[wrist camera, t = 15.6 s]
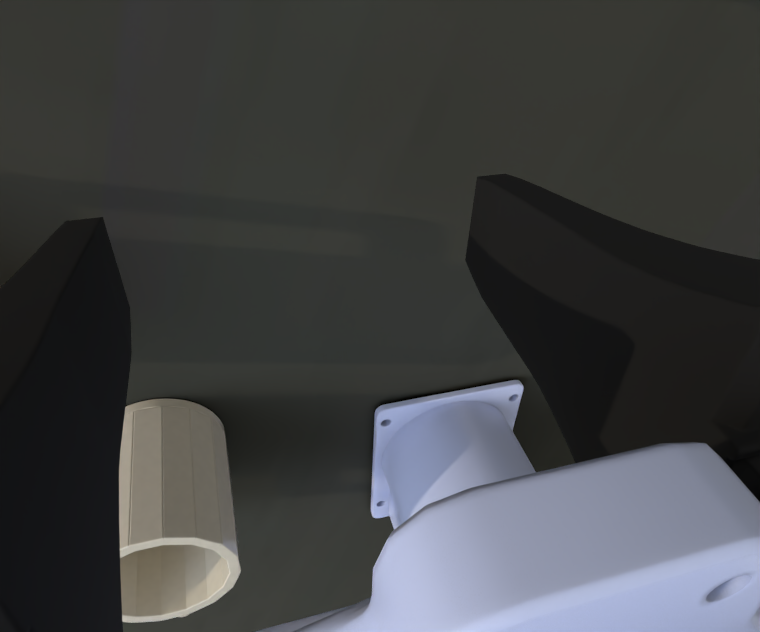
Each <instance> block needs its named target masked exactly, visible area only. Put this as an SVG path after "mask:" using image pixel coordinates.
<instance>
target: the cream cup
mask: <svg viewBox="0 0 760 632" xmlns="http://www.w3.org/2000/svg"><path fill="white" fill-rule="evenodd" d="M119 534H120V575H121V600H122V622H129V623H131V622H132V623H137V622H152V621H161V620H162V621H163V620H167V619H171V618H175V617H185V616H187V615H189V614H190V613H193V612H195V611H197V610H199V609H201V608H203V607H205V606H208V605H210V604H212V603H214V602H215V601H217V600H218V599H219V598H221V597H222V596H223V595H224V594H225V593H227V592H228V591H229V590H230V589H232V587H233V586H234V584H235V582H236V580H237V579H238V577H239V575H240V573H241V564H240V555H239V546H238V537H237V528H236V519H235V510H234V501H233V492H232V482H231V473H230V464H229V455H228V446H227V441H226V434H225V429H224V426H223V424H222V422H221V420H220V419H219V418H218V417H217V416H216V415H215V414H214V413H213V412H212V411H210V410H209V409H207V408H206V407H204V406H202V405H199V404H197V403H194V402H190V401H186V400H180V399H169V398H164V399H152V400H146V401H141V402H137V403H134V404H131V405H128V406H126V407H125V415H124V423H123V432H122V441H121V449H120V464H119Z"/></svg>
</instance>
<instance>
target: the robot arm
mask: <svg viewBox="0 0 760 632" xmlns="http://www.w3.org/2000/svg"><path fill="white" fill-rule="evenodd" d="M466 263H467V265H468V267H469V270H470V272H471V275H472V277H473V279H474V282H475V284H476V286H477V288H478V290H479V292H480V294H481V296H482V298H483V300H484V301H485V303H486V305H487V306H488V308H489V309H490V311H491V312H492V314H493V316H494V317H495V319H496V320H497V322H498V323H499V325H500V326H501V328H502V329H503V331H504V333H505V334H506V336H507V337H508V339H509V340H510V342H511V343H512V345H513V346H514V348H515V349H516V351H517V352H518V354H519V355H520V357H521V358H522V360H523V361H524V363H525V364H526V366H527V367H528V369H529V370H530V372H531V374H532V375H533V377H534V379H535V380H536V382H537V384H538V386H539V387H540V389H541V391H542V393H543V395H544V397H545V399H546V401H547V403H548V405H549V407H550V409H551V411H552V413H553V415H554V417H555V419H556V421H557V423H558V425H559V427H560V429H561V432H562V434H563V436H564V438H565V440H566V442H567V445H568V447H569V449H570V451H571V453H572V456H573V458H574V460H575V462H576V463H575V464H570V465H566V466H562V467H558V468H553V469H549V470H545V471H540V472H536V471H535V470H534V468H533V466H532V464H531V463H530V461H529V459H528V457H527V456H526V454H525V452H524V450H523V449H522V447H521V445H520V443H519V442H518V440H517V438H516V436H515V435H514V433H513V427H514V423H515V419H516V416H517V412H518V408H519V404H520V401H521V397H522V393H523V389H524V386H523V385H522V383H521V382H520V381H519V380H511V381H505V382H500V383H495V384H489V385H484V386H479V387H473V388H468V389H463V390H458V391H452V392H447V393H442V394H436V395H431V396H426V397H421V398H415V399H410V400H405V401H399V402H394V403H389V404H384V405H381V406H379V407H378V408H377V409H376V410H375V416H374V440H373V464H372V488H371V513H372V516H373V517H374V518H382V517H386V516H390V519H391V522H392V525H393V528H394V531H392V533H391V534H390V536H389V538H388V539H387V541H386V543H385V545H384V547H383V549H382V551H381V553H380V555H379V557H378V559H377V561H376V564H375V566H374V568H373V580H372V597H370V598H367V599H365V600H363V601H360V602H358V603H356V604H354V605H351V606H347V607H343V608H339V609H336V610H332V611H328V612H324V613H321V614H317V615H313V616H309V617H306V618H302V619H298V620H295V621H291V622H287V623H283V624H280V625H276V626H272V627H268V628H265V629H261V630H257V631H253V632H760V260H757V259H752V258H747V257H742V256H737V255H733V254H728V253H724V252H719V251H715V250H710V249H706V248H702V247H698V246H695V245H691V244H687V243H684V242H680V241H677V240H674V239H671V238H667V237H664V236H661V235H657V234H654V233H651V232H648V231H645V230H642V229H640V228H637V227H634V226H631V225H629V224H626V223H624V222H621V221H618V220H616V219H613V218H611V217H608V216H606V215H603V214H601V213H598V212H596V211H594V210H591V209H589V208H587V207H584V206H582V205H580V204H578V203H575V202H573V201H571V200H568V199H566V198H564V197H562V196H560V195H557V194H555V193H553V192H551V191H548V190H546V189H544V188H542V187H539V186H537V185H535V184H532V183H530V182H527V181H525V180H522V179H520V178H517V177H514V176H511V175H507V174H499V175H489V176H480V177H477V182H476V189H475V196H474V203H473V210H472V217H471V224H470V231H469V238H468V245H467V253H466ZM130 362H131V322H130V306H129V303H128V300H127V296H126V293H125V290H124V286H123V283H122V280H121V276H120V273H119V270H118V267H117V263H116V260H115V257H114V253H113V250H112V247H111V243H110V240H109V237H108V233H107V230H106V227H105V223H104V220H103V217H100V218H91V219H82V220H72V221H66V222H65V223H63V224H62V225H61V226H60V227H59V228H58V229H57V230H56V231H55V232H54V233H53V234H52V236H51V237H50V238H49V239H48V240H47V241H46V242H45V243H44V244H43V245H42V246H41V247H40V248H39V250H38V251H37V252H36V253H35V254H34V255H33V256H32V257H31V258H30V259H29V260H28V261H27V262H26V263H25V264H24V265H23V266H22V267H21V268H20V269H19V270H18V271H17V272H16V273H15V274H14V276H13V277H12V278H11V279H10V280H9V281H8V282H6V283H5V284H4V285H3V286H2V287H1V288H0V632H123V624H122V600H121V575H120V534H119V464H120V449H121V441H122V432H123V423H124V415H125V406H126V398H127V389H128V380H129V371H130ZM383 420H384V421H383Z"/></svg>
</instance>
